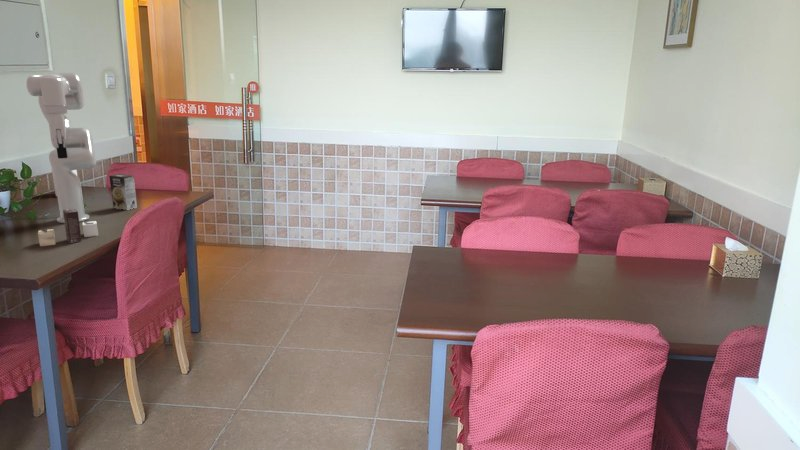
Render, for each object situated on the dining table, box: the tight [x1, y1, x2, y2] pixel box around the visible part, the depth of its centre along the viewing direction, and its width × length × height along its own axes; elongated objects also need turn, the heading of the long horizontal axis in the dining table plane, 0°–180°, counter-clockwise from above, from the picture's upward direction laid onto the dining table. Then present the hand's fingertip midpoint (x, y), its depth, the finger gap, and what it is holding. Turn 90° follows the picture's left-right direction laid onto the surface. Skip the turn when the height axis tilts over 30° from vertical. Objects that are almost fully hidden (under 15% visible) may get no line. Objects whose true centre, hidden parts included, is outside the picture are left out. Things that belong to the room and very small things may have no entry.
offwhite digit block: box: [81, 220, 99, 238], centre depth 233 cm, size 5×5×5 cm
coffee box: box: [109, 173, 138, 211], centre depth 275 cm, size 9×6×16 cm
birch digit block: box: [37, 228, 56, 247], centre depth 221 cm, size 5×5×5 cm
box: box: [63, 209, 82, 244], centre depth 224 cm, size 6×4×12 cm
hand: (62, 157), depth 226 cm, fingers closed
